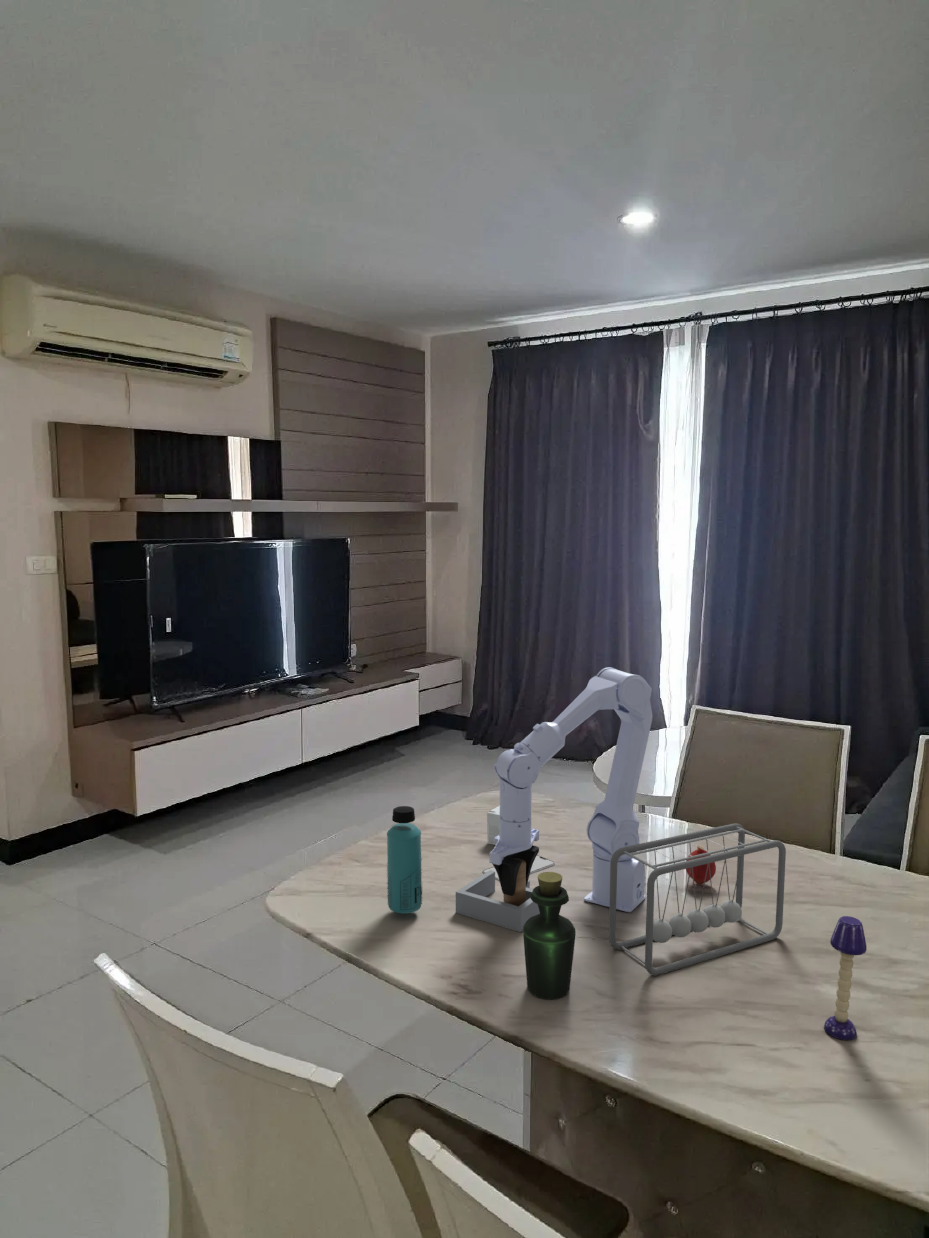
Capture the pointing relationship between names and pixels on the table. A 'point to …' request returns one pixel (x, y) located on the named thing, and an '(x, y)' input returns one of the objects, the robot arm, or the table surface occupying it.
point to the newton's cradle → (696, 917)
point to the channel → (493, 904)
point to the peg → (518, 887)
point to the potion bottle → (549, 940)
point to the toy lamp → (845, 974)
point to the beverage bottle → (404, 862)
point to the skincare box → (493, 824)
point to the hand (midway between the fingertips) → (514, 889)
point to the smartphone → (537, 866)
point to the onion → (701, 868)
